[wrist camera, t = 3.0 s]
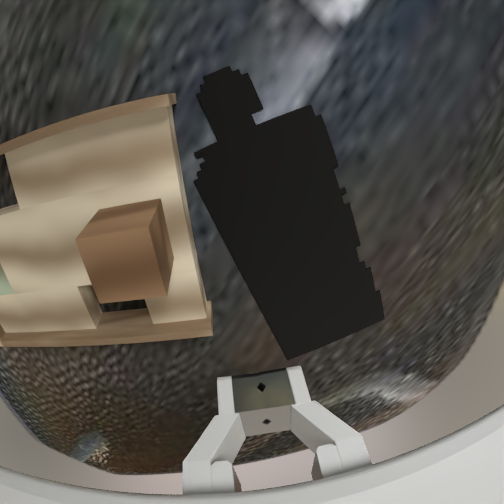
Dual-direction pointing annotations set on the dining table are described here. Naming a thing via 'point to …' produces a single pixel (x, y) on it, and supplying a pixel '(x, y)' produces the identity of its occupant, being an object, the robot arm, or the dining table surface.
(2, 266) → the box
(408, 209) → the dining table surface
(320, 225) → the black flat board
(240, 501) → the robot arm
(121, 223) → the block
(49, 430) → the dining table surface
